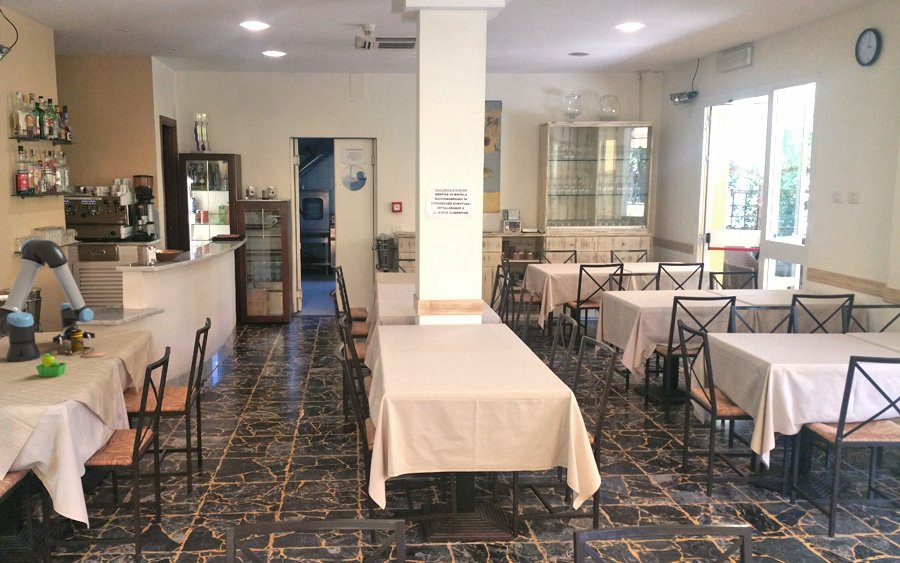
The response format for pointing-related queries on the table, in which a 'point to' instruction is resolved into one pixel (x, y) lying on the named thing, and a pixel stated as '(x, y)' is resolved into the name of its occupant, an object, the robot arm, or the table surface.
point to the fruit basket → (50, 367)
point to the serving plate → (94, 354)
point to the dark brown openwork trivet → (75, 352)
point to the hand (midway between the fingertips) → (75, 340)
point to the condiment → (76, 340)
